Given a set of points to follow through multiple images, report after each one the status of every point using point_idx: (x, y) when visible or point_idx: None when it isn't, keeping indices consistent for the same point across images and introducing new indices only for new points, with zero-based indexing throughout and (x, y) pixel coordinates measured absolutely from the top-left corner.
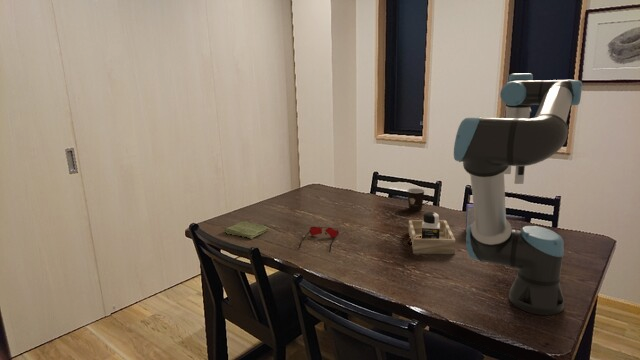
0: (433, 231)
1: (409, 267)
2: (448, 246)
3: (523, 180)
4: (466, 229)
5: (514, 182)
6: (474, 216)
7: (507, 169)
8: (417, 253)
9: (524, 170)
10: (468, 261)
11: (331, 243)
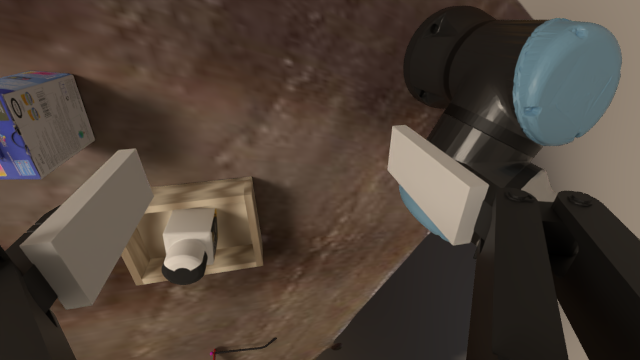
0: (213, 238)
1: (319, 244)
2: (253, 198)
3: (416, 133)
4: (88, 144)
5: (390, 172)
6: (54, 141)
7: (130, 190)
8: (261, 238)
9: (458, 163)
10: (284, 153)
11: (261, 348)
